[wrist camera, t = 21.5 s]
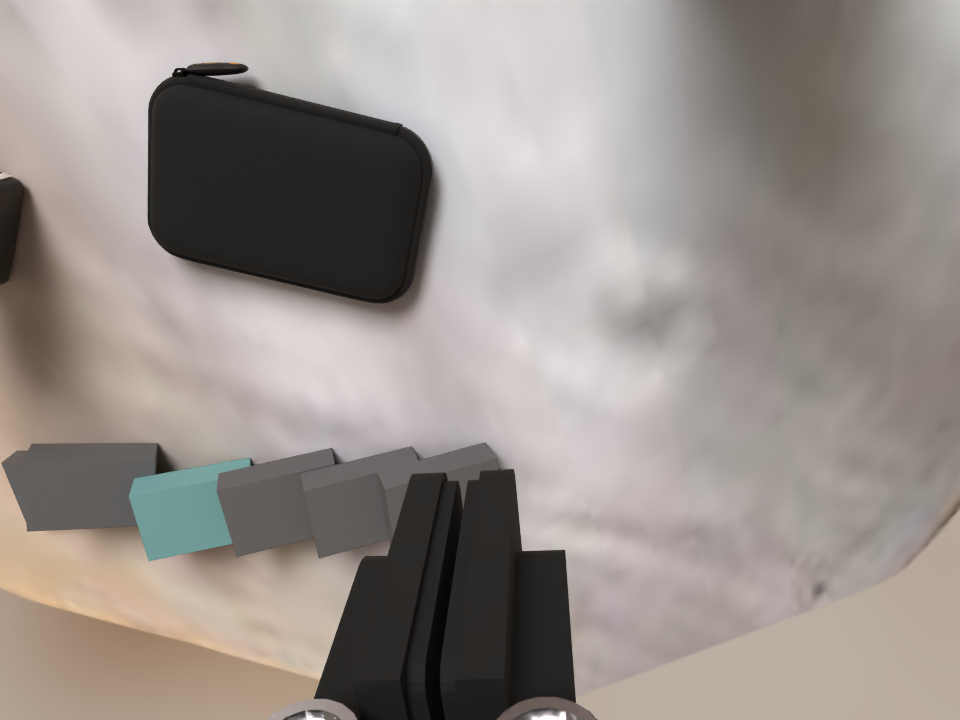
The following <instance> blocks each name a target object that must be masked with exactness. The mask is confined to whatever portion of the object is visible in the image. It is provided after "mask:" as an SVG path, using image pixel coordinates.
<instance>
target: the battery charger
mask: <svg viewBox="0 0 960 720" xmlns="http://www.w3.org/2000/svg"><path fill="white" fill-rule="evenodd" d="M22 194H23V185H22V183H21V182H20V181H19V180H17V179H15V178H14V177H13V176H12V175H9V174H7V173H1V172H0V285H1V284H4V283H6V282H7V281H8V280H9V277H10V271H11V266H12V260H13V254H14V248H15V242H16V236H17V230H18V223H19V216H20V209H21V201H22Z"/></svg>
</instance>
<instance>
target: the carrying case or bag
mask: <svg viewBox="0 0 960 720" xmlns="http://www.w3.org/2000/svg"><path fill="white" fill-rule="evenodd" d="M178 70H180V71H181V72H177V71H178ZM247 70H248V67H247V66H246V65H243V64H239V63H201V64H193V65H190V66H188V67H187V69H186V68H176V69H175V70H174V73H172V76H173V77H170V78H168V79H166V80H165V81H163V82H162V83H161V84H160V85H159V86H158V87H157V88H156V89H155V91H154V92H153V94H152V96H151V99H150V102H149V109H148V225H149V228H150V230H151V233H152V235H153V236H154V238H155V240H156V241H157V242H158V244H159V245H160V246H161V247H162V248H163V249H165V250H166V251H167V252H169V253H170V254H172V255H174V256H177V257H179V258H182V259H186V260H190V261H193V262H197V263H201V264H206V265H210V266H214V267H218V268H223V269H227V270H231V271H236V272H240V273H244V274H249V275H253V276H257V277H262V278H266V279H270V280H274V281H279V282H283V283H287V284H291V285H296V286H300V287H304V288H309V289H313V290H317V291H321V292H326V293H330V294H334V295H338V296H343V297H347V298H351V299H356V300H360V301H365V302H370V303H381V304H382V303H388V302H391V301H394V300H396V299H398V298H399V297H401V296H402V295H403V294H404V293H405V292H406V291H407V290H408V289H409V287H410V286H411V284H412V282H413V278H414V274H415V268H416V263H417V258H418V252H419V247H420V242H421V236H422V231H423V226H424V220H425V215H426V209H427V204H428V199H429V193H430V188H431V183H432V177H433V163H432V159H431V156H430V153H429V150H428V149H427V147H426V145H425V144H424V142H423V141H422V140H421V138H420V137H419V136H418V135H417V134H415V133H414V132H413V131H412V130H410V129H408V128H406V127H403V125H402V124H399V123H393V122H389V121H385V120H380V119H376V118H372V117H368V116H364V115H360V114H356V113H352V112H348V111H344V110H340V109H336V108H332V107H328V106H324V105H320V104H316V103H312V102H308V101H304V100H300V99H296V98H292V97H288V96H284V95H280V94H276V93H272V92H268V91H264V90H260V89H256V88H252V87H248V86H244V85H240V84H236V83H232V82H228V81H223V80H219V79H215V78H211V77H207V76H220V75H232V74H240V73H244V72H246V71H247Z"/></svg>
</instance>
